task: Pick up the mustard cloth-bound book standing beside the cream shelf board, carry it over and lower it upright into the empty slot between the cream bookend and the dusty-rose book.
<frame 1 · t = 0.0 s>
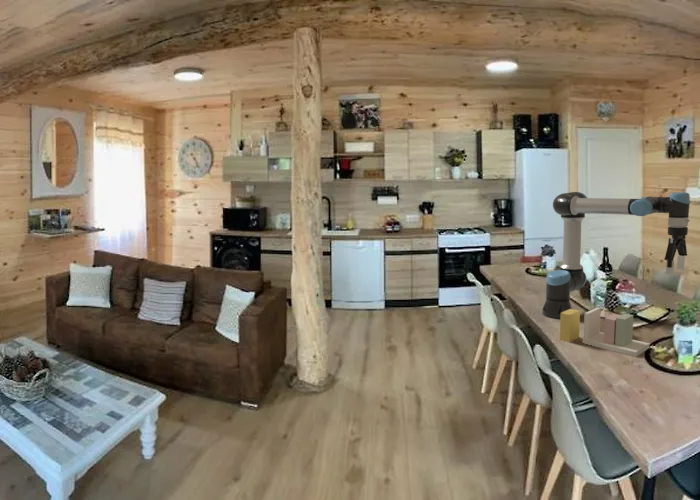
hand: (675, 271, 220), 28 cm above the table, tool pointing down, fingers open, 13 cm apart
shelf: (615, 345, 209), on the table
book: (569, 338, 220), on the table
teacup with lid: (607, 332, 226), on the table
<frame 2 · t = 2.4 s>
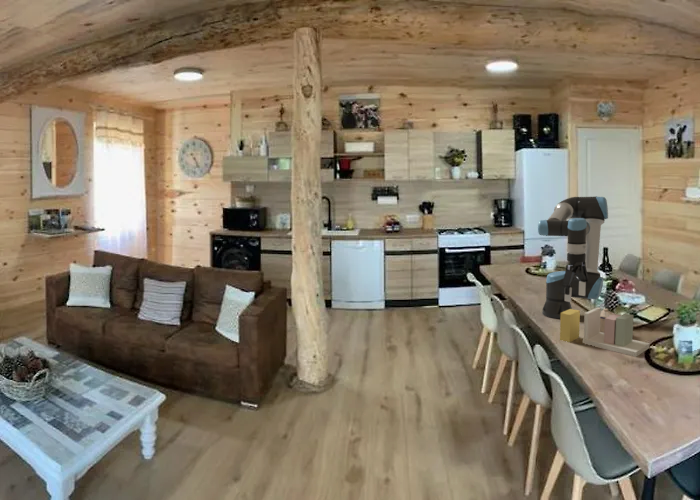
hand: (575, 298, 217), 19 cm above the table, tool pointing down, fingers open, 13 cm apart
nothing on the table moved.
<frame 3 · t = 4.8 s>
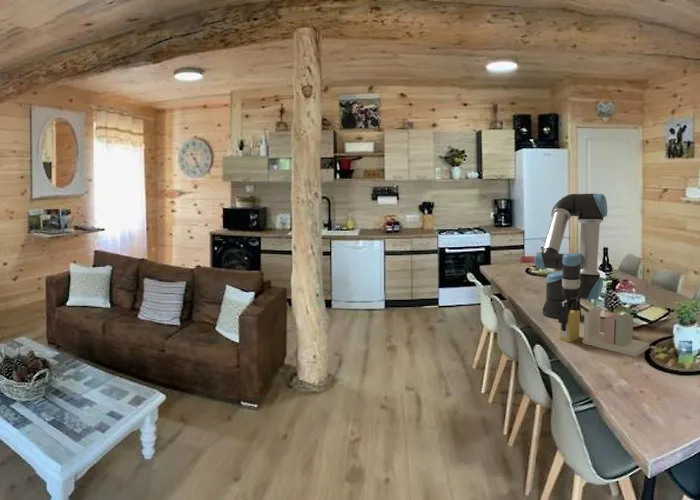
hand: (569, 334, 219), 2 cm above the table, tool pointing down, fingers closed on book, 9 cm apart
book: (569, 338, 220), on the table, touching gripper
everything else where it was.
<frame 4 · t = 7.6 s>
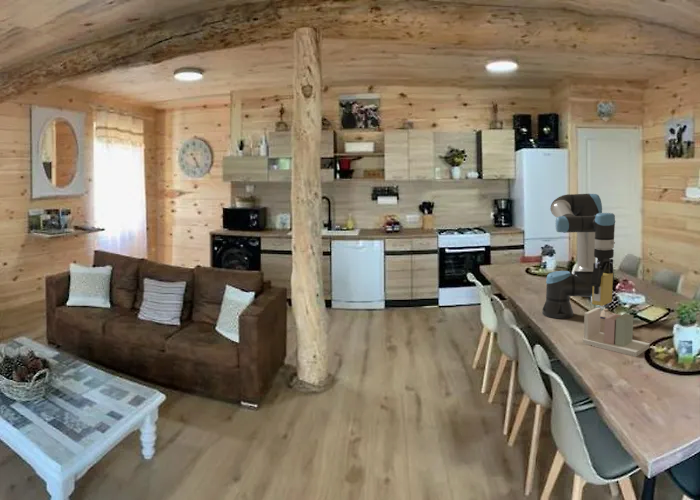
hand: (602, 298, 210), 20 cm above the table, tool pointing down, fingers closed on book, 9 cm apart
book: (601, 302, 211), point 18 cm above the table, touching gripper
everything else where it was.
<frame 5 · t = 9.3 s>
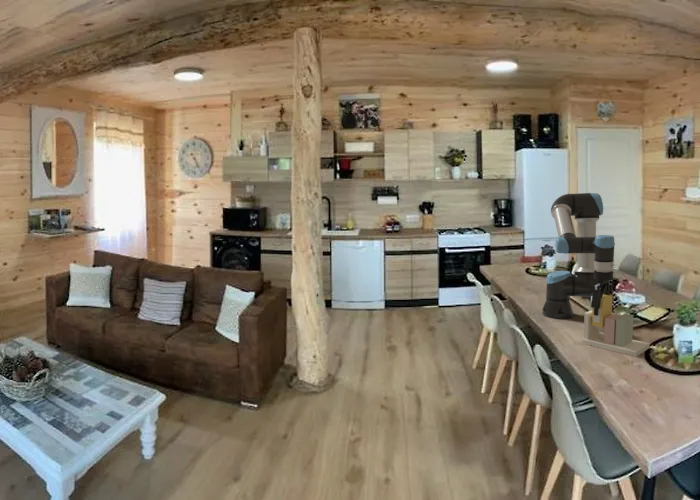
hand: (601, 319, 212), 11 cm above the table, tool pointing down, fingers closed on book, 9 cm apart
book: (601, 324, 212), point 9 cm above the table, touching gripper
everything else where it was.
when the fingers open (5 cm above the table, at t = 10.8 s): book drops 1 cm, resting on shelf.
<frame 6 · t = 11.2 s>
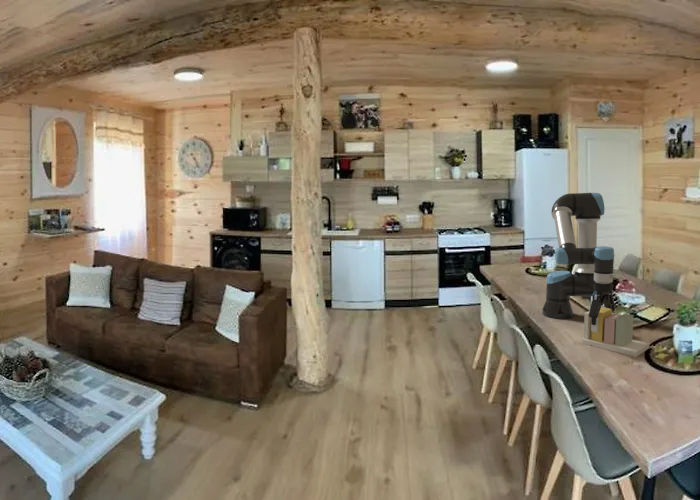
hand: (601, 328, 212), 7 cm above the table, tool pointing down, fingers open, 13 cm apart
book: (601, 337, 213), point 2 cm above the table, touching shelf
everything else where it was.
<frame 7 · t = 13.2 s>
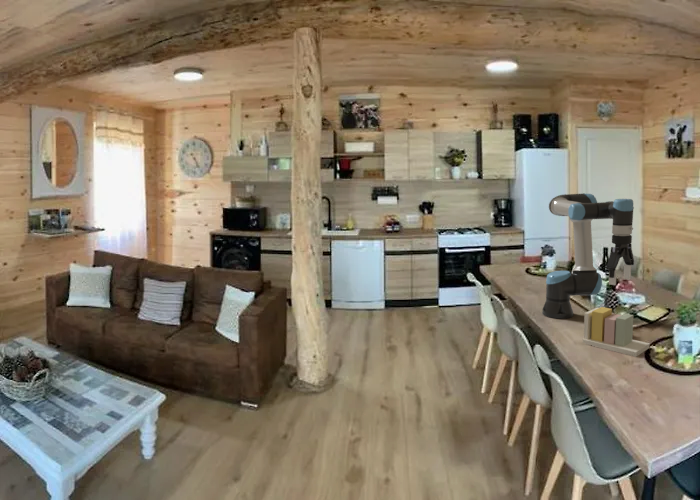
hand: (619, 281, 210), 27 cm above the table, tool pointing down, fingers open, 13 cm apart
nothing on the table moved.
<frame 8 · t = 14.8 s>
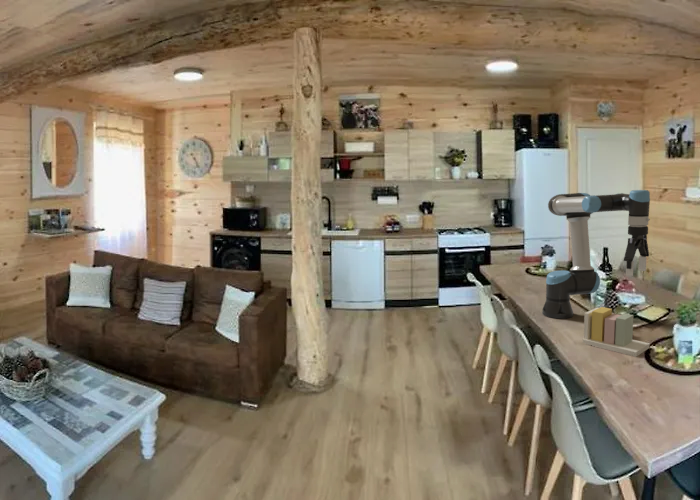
hand: (635, 273, 210), 31 cm above the table, tool pointing down, fingers open, 13 cm apart
nothing on the table moved.
at the end: book inside the target area on the shelf (0.1 cm from its centre), point 2.0 cm above the shelf's base; book tilted 0°; the gripper is holding nothing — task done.
